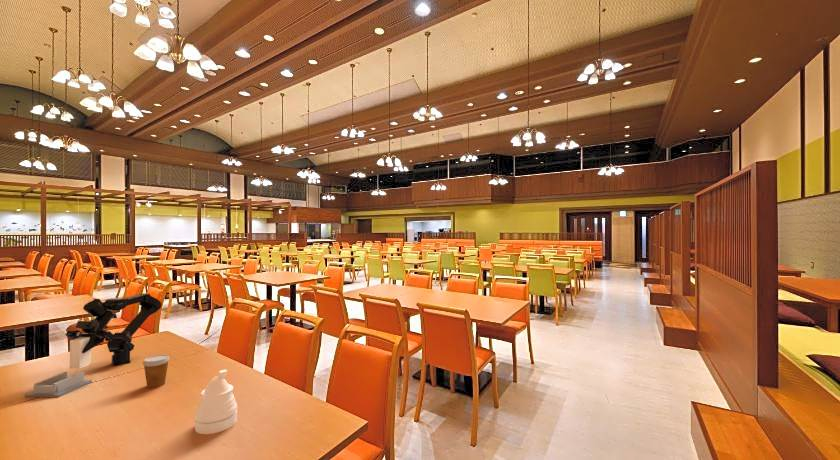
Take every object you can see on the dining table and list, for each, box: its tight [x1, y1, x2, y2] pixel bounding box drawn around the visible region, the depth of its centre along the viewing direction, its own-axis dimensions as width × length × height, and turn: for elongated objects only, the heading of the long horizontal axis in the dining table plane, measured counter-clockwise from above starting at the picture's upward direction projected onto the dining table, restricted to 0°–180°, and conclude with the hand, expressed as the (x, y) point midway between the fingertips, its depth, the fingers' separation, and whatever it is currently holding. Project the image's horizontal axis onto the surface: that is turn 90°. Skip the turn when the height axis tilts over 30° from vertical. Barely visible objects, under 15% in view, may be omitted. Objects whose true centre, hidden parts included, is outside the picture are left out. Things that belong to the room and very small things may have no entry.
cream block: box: [69, 337, 92, 369], centre depth 155 cm, size 5×4×12 cm
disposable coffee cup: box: [142, 354, 171, 389], centre depth 152 cm, size 10×10×12 cm
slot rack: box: [24, 371, 93, 398], centre depth 147 cm, size 14×14×5 cm
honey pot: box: [194, 369, 238, 435], centre depth 121 cm, size 13×13×18 cm
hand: (77, 352), depth 154 cm, fingers closed on cream block, 4 cm apart
